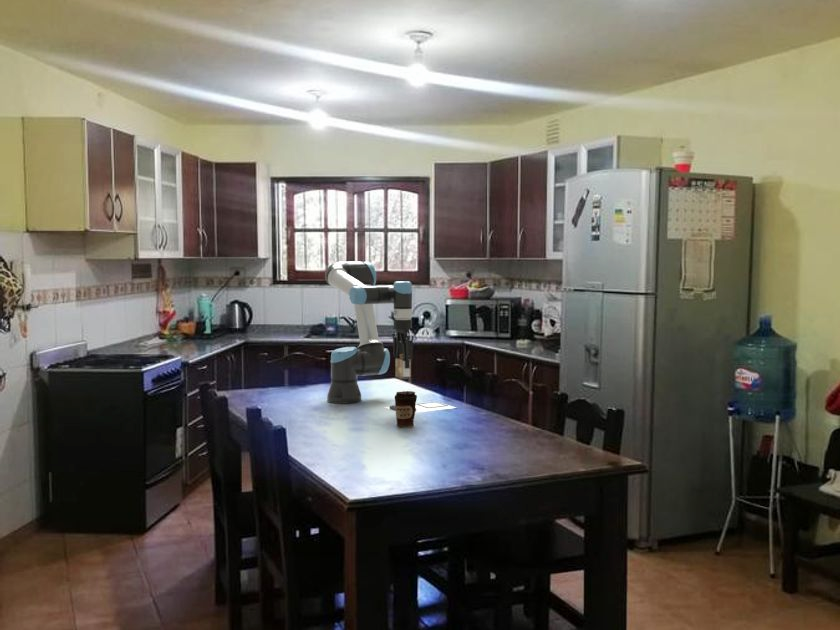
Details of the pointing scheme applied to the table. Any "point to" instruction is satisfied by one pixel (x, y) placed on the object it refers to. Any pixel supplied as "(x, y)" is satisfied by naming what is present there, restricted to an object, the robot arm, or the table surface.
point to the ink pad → (394, 408)
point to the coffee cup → (405, 408)
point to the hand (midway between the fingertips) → (402, 375)
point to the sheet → (429, 406)
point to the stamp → (401, 368)
